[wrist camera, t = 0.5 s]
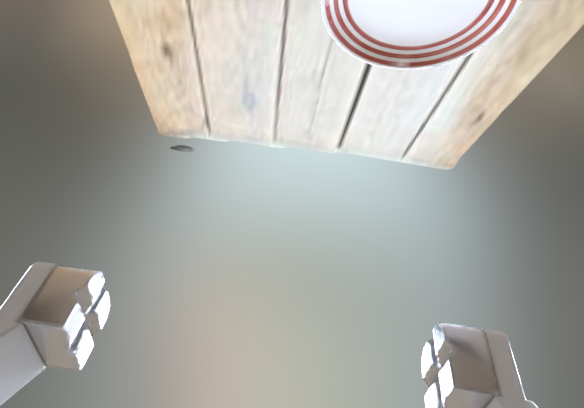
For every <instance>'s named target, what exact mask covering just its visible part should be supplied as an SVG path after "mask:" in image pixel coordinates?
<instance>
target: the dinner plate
mask: <svg viewBox="0 0 584 408" xmlns="http://www.w3.org/2000/svg"><path fill="white" fill-rule="evenodd" d="M520 3H521V0H320V6H321V14H322V18H323V21H324V24H325V26H326V28H327V30H328V32H329V34H330V35H331V37H332V38H333V39H334V41H335V42H336V43H337V44H338V45H339V46H340V47H341V48H342V49H343V50H345V51H346V52H347V53H349V54H350V55H352V56H353V57H355V58H357V59H359V60H361V61H363V62H366V63H368V64H371V65H375V66H379V67H384V68H389V69H398V70H415V69H425V68H431V67H436V66H440V65H444V64H447V63H451V62H453V61H456V60H459V59H461V58H463V57H465V56H468V55H469V54H471V53H473V52H475V51H477V50H478V49H480V48H481V47H483V46H484V45H486V44H487V43H488V42H490V41H491V40H492V39H493V38H494V37H496V36H497V35H498V34H499V33H500V32H501V31H502V30H503V29H504V28H505V26H506V25H507V24H508V23H509V22H510V20H511V19H512V17H513V16H514V14H515V13H516V11H517V9H518V7H519V5H520Z"/></svg>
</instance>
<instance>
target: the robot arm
mask: <svg viewBox="0 0 584 408" xmlns="http://www.w3.org/2000/svg"><path fill="white" fill-rule="evenodd" d="M103 283H104V277H103V275H102V272H98V271H92V270H86V269H81V268H75V267H69V266H62V265H58V264H51V263H44V262H36V263H35V264H33V265H32V266H30V268H29V269H28V270H27V272H26V273H25V274H24V276H23V277H22V279H21V280H20V281H19V283H18V284H17V286H16V287H15V288H14V290H13V291H12V292H11V294H10V295H9V297H8V298H7V299H6V301H5V302H4V303H3V305H2V306H1V307H0V405H2V404H3V403H4V402H5V401H6V400H8V399H9V398H10V397H11V396H12V395H13V394H15V393H16V392H17V391H18V390H20V389H21V388H22V387H23V386H25V385H26V384H27V383H28V382H29V381H31V380H32V379H33V378H34V377H35V376H37V375H38V374H39V373H40V372H42V371H43V370H44V369H45V368H46V367H45V366H50V367H57V368H66V369H74V370H81V369H82V367H83V365H84V363H85V361H86V359H87V357H88V355H89V353H90V351H91V349H92V347H93V342H92V338H91V336H92V335H94V334H95V333H97V332H98V331H100V330H101V329H102V327H103V325H104V323H105V321H106V319H107V315H108V310H109V307H110V303H109V302H110V301H109V300H110V299H109V294H108V292H107V291H106V290H105V289H104V288H102V285H103ZM433 333H434V338H433V339H431V340H429V341H427V343H426V345H425V347H424V350H423V356H422V376H423V380H424V381H425V382H426V384H427V385H428V386H429V388H430V389H429V391H428V392H427V394H426V396H425V402H426V408H538V407H537V406H536V405H535V404H534V402H532V401H527V400H526V398H525V394H524V391H523V388H522V384H521V381H520V377H519V374H518V371H517V367H516V364H515V360H514V357H513V354H512V350H511V347H510V343H509V340H508V337H507V336H506V334H505V333H504V332H500V331H493V330H485V329H481V328H475V327H469V326H461V325H454V324H446V323H439V324H437V325H436V327H435V328H434V330H433Z"/></svg>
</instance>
